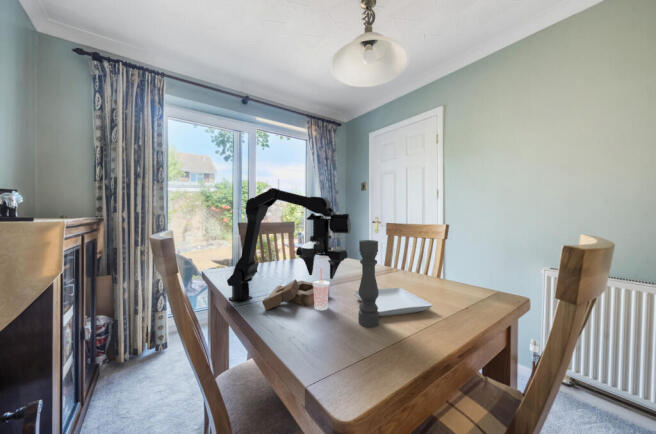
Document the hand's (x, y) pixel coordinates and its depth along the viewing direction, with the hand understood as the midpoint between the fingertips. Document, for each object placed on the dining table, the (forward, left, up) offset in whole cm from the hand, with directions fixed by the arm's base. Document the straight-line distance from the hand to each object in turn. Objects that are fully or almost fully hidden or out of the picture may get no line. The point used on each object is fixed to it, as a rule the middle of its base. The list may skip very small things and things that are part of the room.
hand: (320, 277), depth 87 cm
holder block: (-12, +5, -11) cm, 17 cm away
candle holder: (+19, -1, -11) cm, 22 cm away
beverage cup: (0, 0, -11) cm, 11 cm away
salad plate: (+19, +16, -12) cm, 28 cm away
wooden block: (-10, -11, -7) cm, 17 cm away
